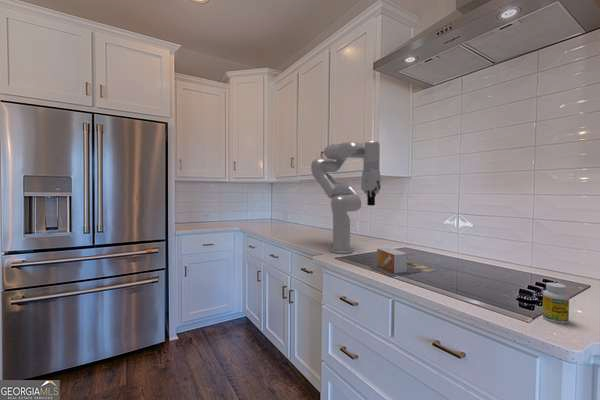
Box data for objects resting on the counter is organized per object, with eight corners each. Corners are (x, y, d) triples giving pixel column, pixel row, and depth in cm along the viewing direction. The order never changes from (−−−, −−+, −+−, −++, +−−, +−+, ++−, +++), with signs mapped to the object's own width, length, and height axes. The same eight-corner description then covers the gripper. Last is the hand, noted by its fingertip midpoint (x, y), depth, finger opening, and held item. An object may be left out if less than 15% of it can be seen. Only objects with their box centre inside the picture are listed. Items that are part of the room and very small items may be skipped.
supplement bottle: (559, 316, 81) (560, 281, 81) (573, 325, 76) (575, 288, 76) (537, 314, 82) (538, 281, 82) (550, 323, 77) (551, 287, 76)
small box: (376, 248, 132) (394, 254, 120) (388, 247, 134) (407, 253, 122) (376, 266, 133) (394, 273, 120) (389, 264, 134) (407, 272, 122)
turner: (398, 262, 138) (398, 260, 138) (406, 261, 140) (406, 259, 140) (426, 272, 123) (426, 270, 123) (435, 271, 125) (435, 268, 125)
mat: (369, 267, 130) (369, 267, 130) (397, 264, 136) (397, 263, 136) (390, 276, 117) (390, 276, 117) (421, 271, 124) (421, 271, 124)
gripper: (356, 168, 146) (355, 204, 147) (374, 166, 132) (374, 206, 133) (368, 168, 149) (368, 204, 150) (387, 166, 135) (387, 206, 136)
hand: (371, 205), depth 142 cm, fingers closed
